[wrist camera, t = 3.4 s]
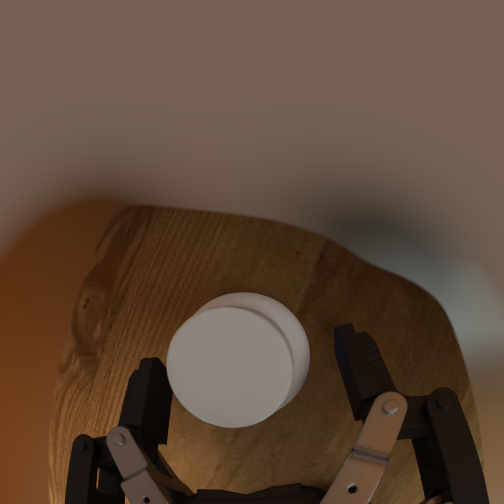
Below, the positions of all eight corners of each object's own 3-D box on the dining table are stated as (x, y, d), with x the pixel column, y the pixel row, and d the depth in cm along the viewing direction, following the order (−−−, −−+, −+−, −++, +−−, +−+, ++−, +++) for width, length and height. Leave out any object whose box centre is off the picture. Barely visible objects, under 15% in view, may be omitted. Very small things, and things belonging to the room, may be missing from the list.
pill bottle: (315, 319, 17) (351, 326, 7) (281, 393, 16) (275, 471, 7) (237, 287, 18) (186, 256, 8) (205, 359, 17) (128, 398, 8)
